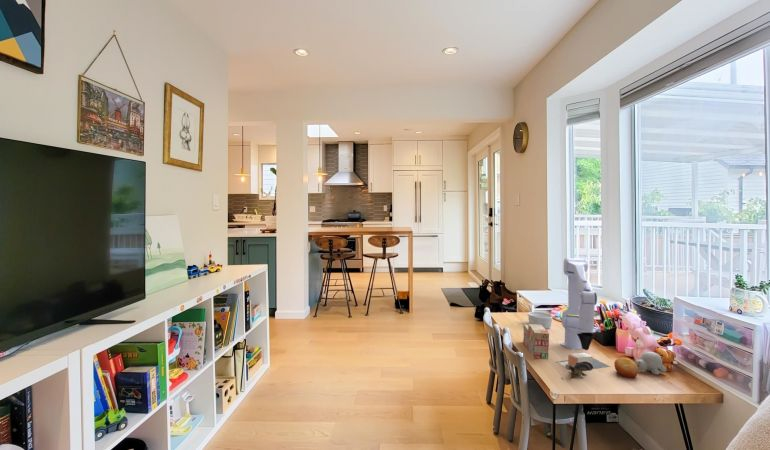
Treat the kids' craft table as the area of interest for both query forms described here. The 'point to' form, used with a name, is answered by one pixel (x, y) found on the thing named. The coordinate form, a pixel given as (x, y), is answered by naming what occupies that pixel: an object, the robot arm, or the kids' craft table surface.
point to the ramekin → (540, 319)
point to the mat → (595, 364)
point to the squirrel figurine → (579, 368)
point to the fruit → (626, 367)
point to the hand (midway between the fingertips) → (585, 349)
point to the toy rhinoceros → (650, 363)
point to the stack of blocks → (536, 340)
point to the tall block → (579, 358)
